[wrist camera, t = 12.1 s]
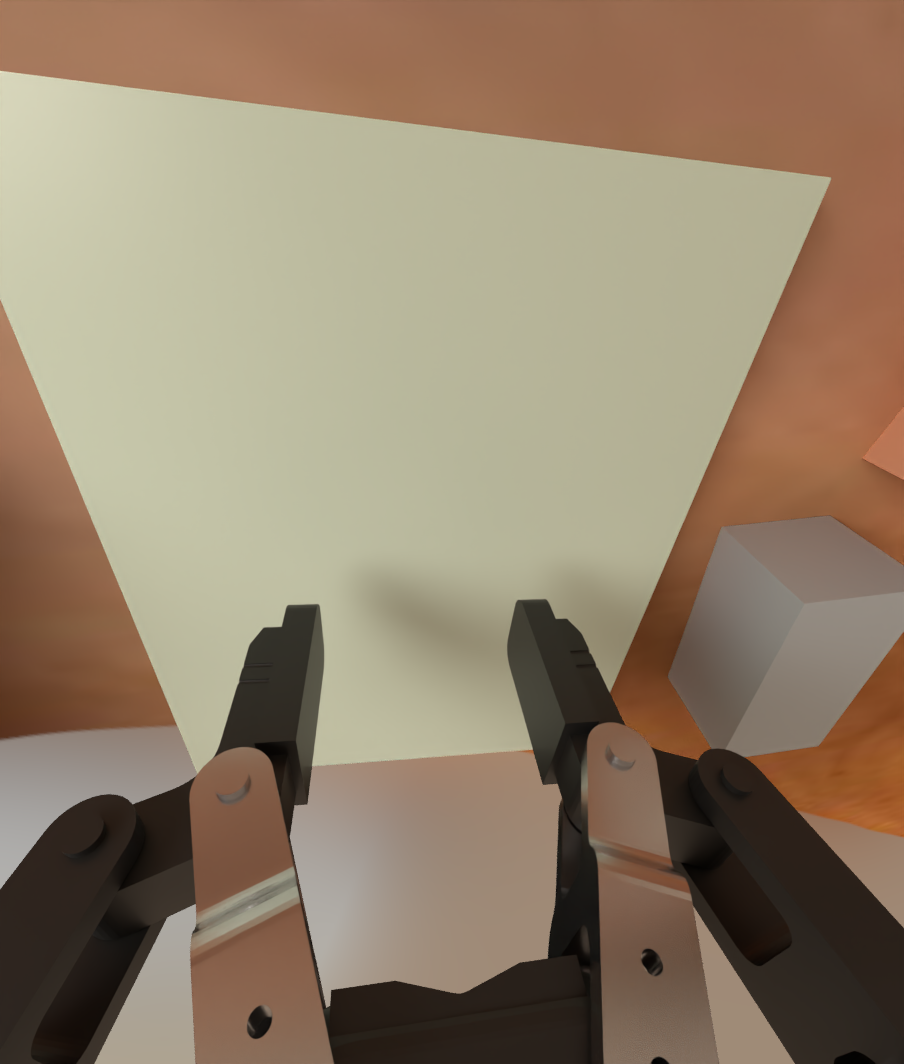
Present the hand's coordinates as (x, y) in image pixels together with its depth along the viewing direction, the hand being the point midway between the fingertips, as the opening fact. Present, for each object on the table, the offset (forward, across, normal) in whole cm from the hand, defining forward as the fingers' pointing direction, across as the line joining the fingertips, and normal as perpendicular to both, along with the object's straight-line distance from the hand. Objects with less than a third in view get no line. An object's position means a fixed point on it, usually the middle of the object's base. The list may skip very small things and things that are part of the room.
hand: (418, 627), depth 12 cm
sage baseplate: (+3, 0, 0) cm, 3 cm away
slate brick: (+4, -13, +3) cm, 14 cm away
